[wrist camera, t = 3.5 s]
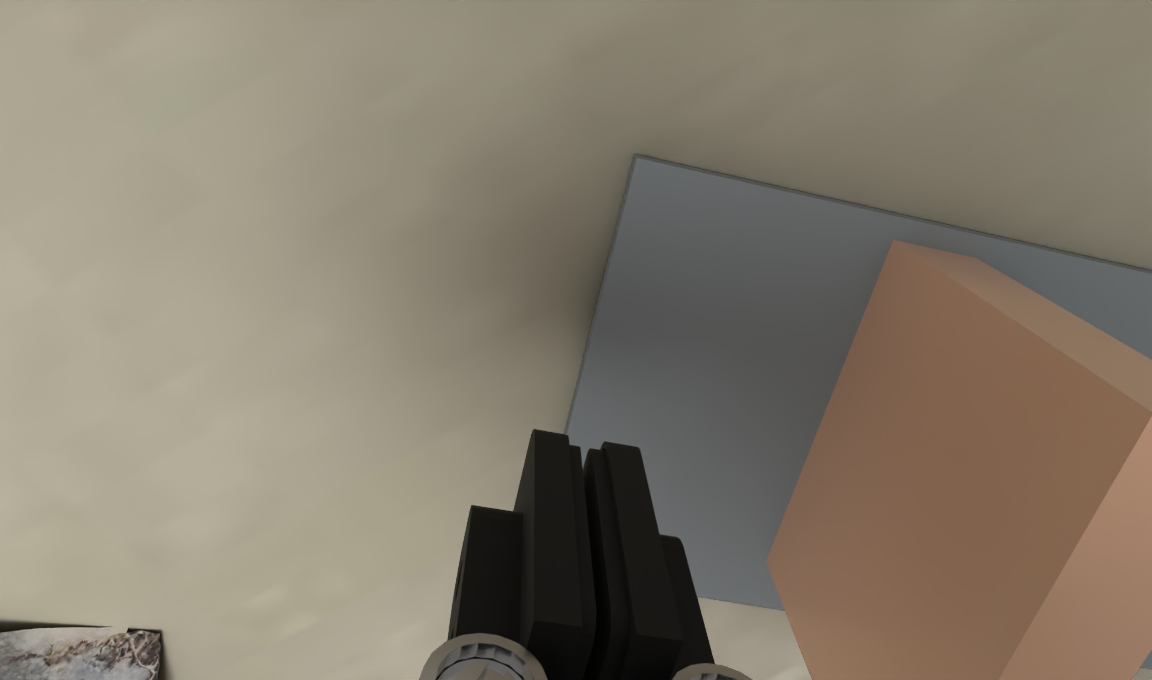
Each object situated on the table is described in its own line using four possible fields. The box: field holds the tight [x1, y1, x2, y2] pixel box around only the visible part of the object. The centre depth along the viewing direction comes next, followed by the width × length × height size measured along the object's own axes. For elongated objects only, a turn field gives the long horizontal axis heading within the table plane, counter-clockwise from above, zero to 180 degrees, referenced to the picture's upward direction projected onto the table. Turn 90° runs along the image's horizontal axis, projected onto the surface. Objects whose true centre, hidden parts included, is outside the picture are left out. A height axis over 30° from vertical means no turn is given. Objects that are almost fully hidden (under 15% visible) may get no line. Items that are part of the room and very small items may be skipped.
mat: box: [564, 154, 1152, 669], centre depth 20 cm, size 19×11×1 cm, turn 77°
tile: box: [766, 239, 1152, 680], centre depth 15 cm, size 2×9×8 cm, turn 167°
